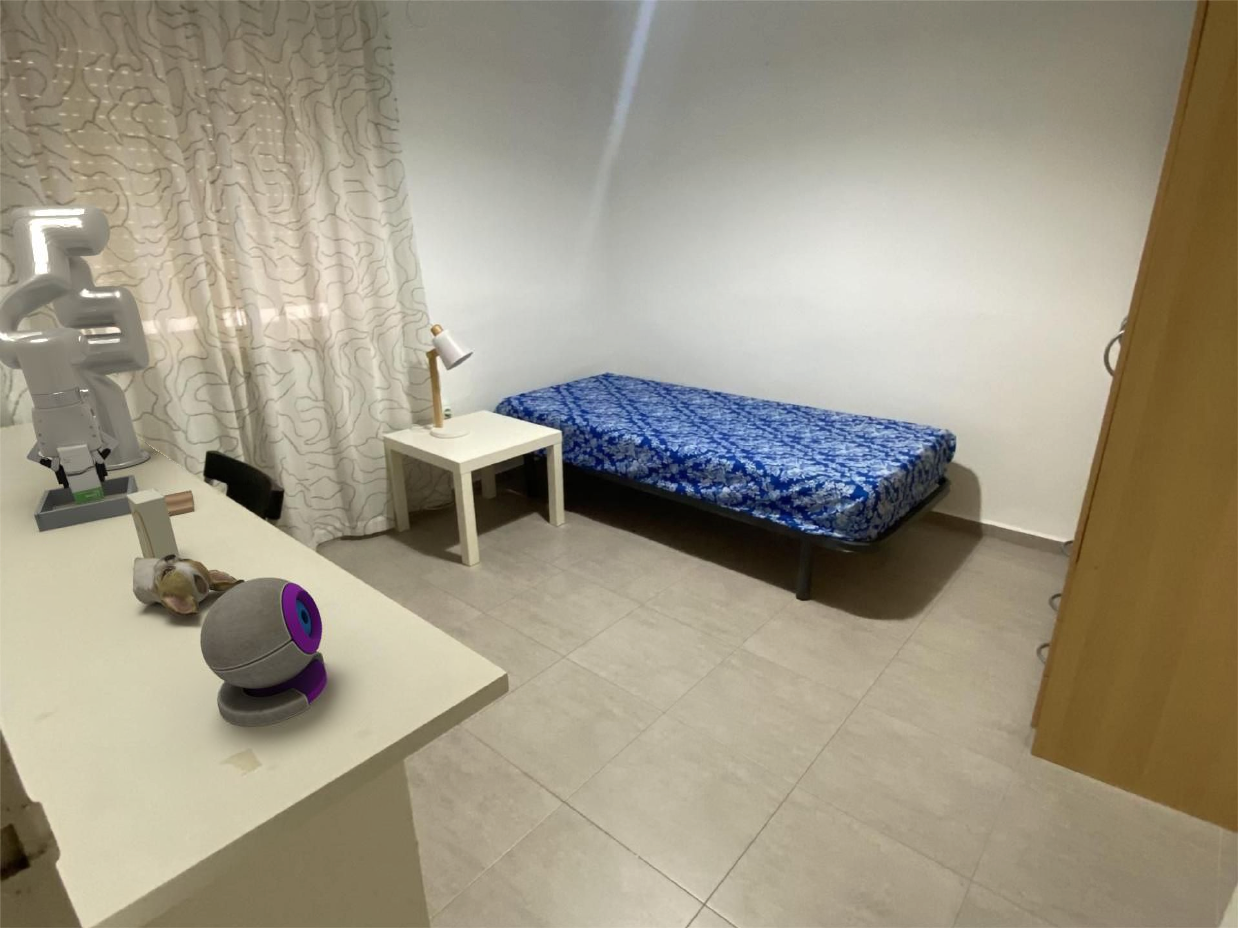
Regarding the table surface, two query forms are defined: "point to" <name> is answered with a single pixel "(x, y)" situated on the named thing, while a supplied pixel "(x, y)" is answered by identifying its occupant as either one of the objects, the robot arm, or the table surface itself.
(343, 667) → the table surface
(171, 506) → the pad
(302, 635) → the webcam
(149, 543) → the skincare box
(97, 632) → the table surface
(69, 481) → the ink box
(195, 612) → the ceramic sculpture
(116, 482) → the bin
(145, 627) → the table surface
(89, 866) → the table surface
